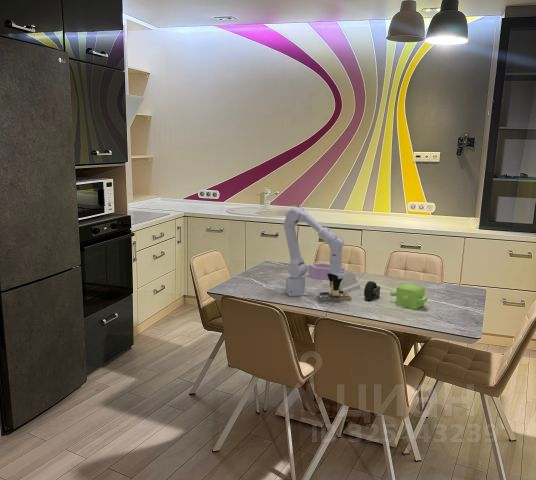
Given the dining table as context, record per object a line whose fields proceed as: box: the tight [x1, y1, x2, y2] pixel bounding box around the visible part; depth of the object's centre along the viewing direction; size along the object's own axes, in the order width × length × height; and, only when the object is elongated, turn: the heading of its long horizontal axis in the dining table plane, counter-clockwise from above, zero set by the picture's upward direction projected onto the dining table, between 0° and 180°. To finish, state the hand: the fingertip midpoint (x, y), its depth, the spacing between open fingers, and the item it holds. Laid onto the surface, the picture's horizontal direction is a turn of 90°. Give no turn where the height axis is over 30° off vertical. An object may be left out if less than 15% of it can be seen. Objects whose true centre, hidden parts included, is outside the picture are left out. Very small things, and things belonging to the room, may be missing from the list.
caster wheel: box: [363, 280, 381, 301], centre depth 249 cm, size 6×10×15 cm
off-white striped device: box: [339, 272, 361, 294], centre depth 263 cm, size 17×5×10 cm, turn 139°
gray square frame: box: [318, 291, 331, 295], centre depth 251 cm, size 5×5×1 cm
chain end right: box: [328, 293, 352, 302], centre depth 246 cm, size 10×6×2 cm, turn 104°
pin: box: [329, 281, 340, 296], centre depth 244 cm, size 4×4×7 cm
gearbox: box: [389, 283, 428, 310], centre depth 238 cm, size 18×10×10 cm, turn 49°
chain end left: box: [316, 294, 342, 303], centre depth 244 cm, size 10×6×2 cm, turn 104°
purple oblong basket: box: [307, 262, 345, 281], centre depth 285 cm, size 20×12×7 cm, turn 58°
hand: (334, 289), depth 244 cm, fingers closed on pin, 4 cm apart
